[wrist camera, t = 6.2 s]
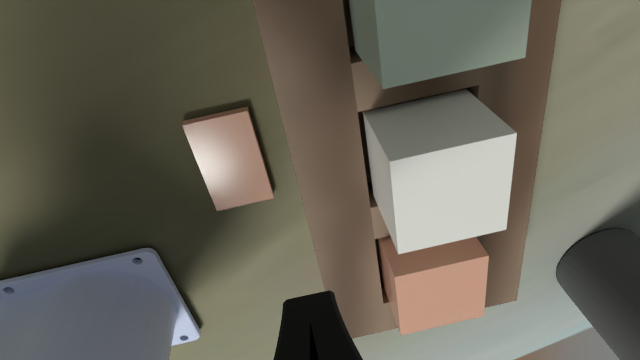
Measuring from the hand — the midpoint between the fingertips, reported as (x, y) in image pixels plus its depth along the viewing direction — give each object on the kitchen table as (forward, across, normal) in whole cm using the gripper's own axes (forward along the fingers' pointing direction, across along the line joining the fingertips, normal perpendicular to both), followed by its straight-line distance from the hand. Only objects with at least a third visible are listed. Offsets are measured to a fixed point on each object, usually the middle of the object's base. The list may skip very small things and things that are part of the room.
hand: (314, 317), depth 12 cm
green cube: (+8, -6, -7) cm, 12 cm away
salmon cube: (+9, -6, +7) cm, 13 cm away
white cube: (+8, -6, 0) cm, 10 cm away
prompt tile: (+10, +3, 0) cm, 11 cm away
